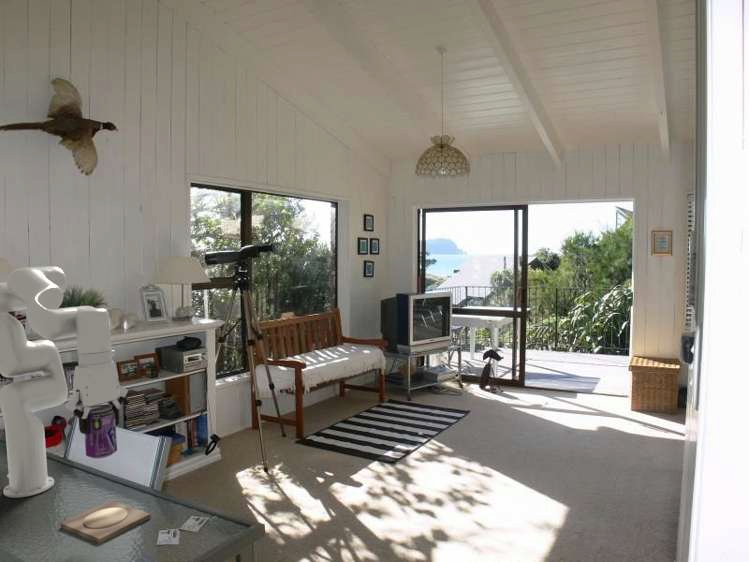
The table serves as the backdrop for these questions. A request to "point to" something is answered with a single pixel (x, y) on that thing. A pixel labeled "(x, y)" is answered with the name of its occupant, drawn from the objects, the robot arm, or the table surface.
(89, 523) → the board
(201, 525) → the table surface
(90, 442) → the beverage can
